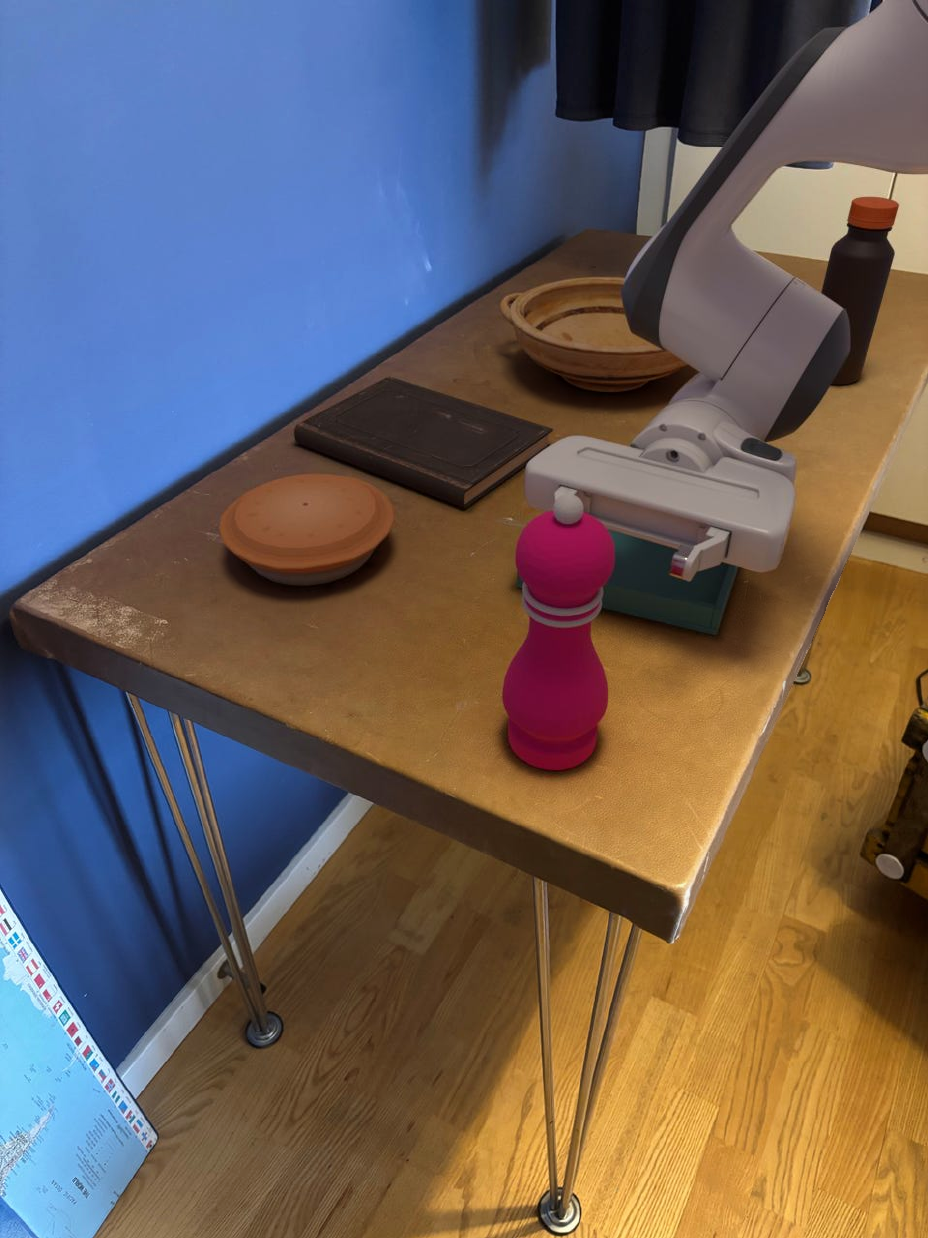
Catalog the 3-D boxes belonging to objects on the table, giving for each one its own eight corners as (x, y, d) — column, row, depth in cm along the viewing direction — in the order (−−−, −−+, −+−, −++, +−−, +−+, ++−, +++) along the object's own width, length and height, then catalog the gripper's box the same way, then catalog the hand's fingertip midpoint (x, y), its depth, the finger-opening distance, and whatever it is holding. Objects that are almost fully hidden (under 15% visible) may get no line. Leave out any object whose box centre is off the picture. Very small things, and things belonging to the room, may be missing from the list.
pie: (191, 552, 83) (180, 506, 80) (323, 489, 92) (318, 445, 89) (296, 626, 75) (288, 576, 72) (430, 548, 84) (428, 501, 81)
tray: (745, 544, 84) (751, 520, 82) (716, 635, 74) (721, 610, 72) (567, 507, 89) (569, 484, 87) (516, 587, 79) (517, 563, 77)
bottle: (801, 381, 111) (842, 207, 99) (804, 360, 116) (843, 191, 103) (860, 389, 109) (909, 212, 97) (860, 366, 114) (907, 196, 102)
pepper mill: (494, 769, 63) (497, 524, 50) (508, 697, 68) (515, 460, 56) (599, 783, 62) (630, 536, 49) (605, 709, 67) (634, 470, 55)
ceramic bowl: (753, 364, 115) (765, 301, 110) (679, 441, 99) (690, 372, 94) (547, 319, 128) (550, 260, 123) (453, 381, 112) (451, 317, 107)
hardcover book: (389, 393, 109) (388, 375, 108) (551, 447, 99) (552, 428, 97) (294, 445, 99) (292, 426, 98) (463, 511, 89) (462, 491, 87)
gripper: (567, 402, 75) (486, 475, 66) (819, 461, 67) (767, 553, 58) (563, 470, 79) (486, 548, 70) (800, 532, 71) (749, 630, 62)
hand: (615, 551), depth 64 cm, fingers open, 8 cm apart
